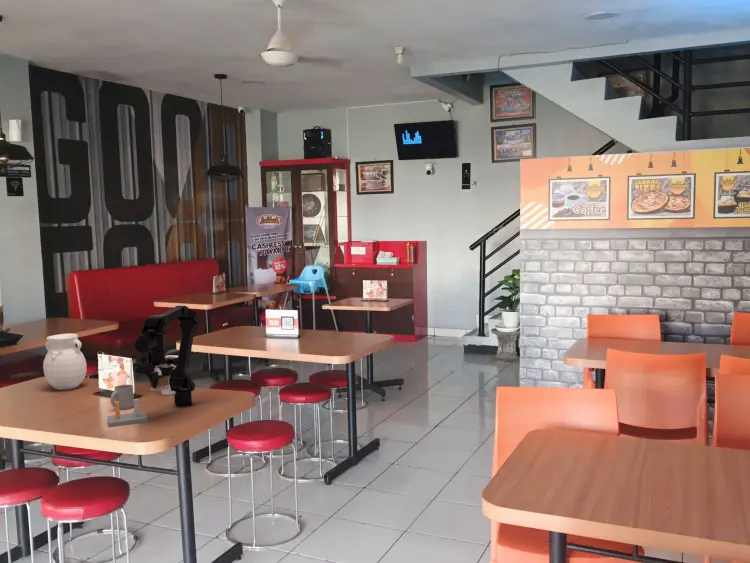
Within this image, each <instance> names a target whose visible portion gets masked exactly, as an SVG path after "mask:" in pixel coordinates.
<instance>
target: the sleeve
mask: <svg viewBox="0 0 750 563" xmlns="http://www.w3.org/2000/svg"><path fill="white" fill-rule="evenodd" d="M168 388H169V380H168V376H164V375H158V379H157V386H156V388H153V387H152V384H151V382H150V381H149V390H150V391H155V392H161V391H162V390H165V389H168Z"/></svg>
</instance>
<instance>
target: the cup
mask: <svg viewBox="0 0 750 563" xmlns="http://www.w3.org/2000/svg"><path fill="white" fill-rule="evenodd" d="M113 389H114V391H113V392H112V393H111V395H110V404H111V406H112V407H114V408H115V402H116V401H119V409H120V411H124V410H130V409H132V408H133V409H134V399H135V397H134V385H133V384H121V385H117V386H114V388H113Z"/></svg>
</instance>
